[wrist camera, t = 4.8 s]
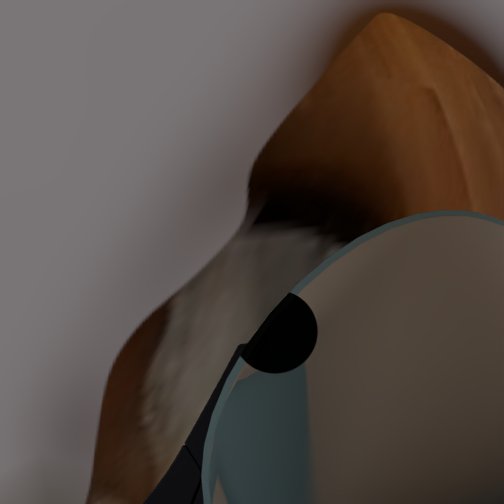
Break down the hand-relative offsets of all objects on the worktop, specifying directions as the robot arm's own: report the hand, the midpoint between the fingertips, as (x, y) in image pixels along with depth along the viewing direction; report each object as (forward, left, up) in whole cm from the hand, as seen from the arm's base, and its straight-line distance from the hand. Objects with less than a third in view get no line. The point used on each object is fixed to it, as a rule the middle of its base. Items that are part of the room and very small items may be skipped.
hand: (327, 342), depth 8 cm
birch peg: (0, -1, -8) cm, 8 cm away
